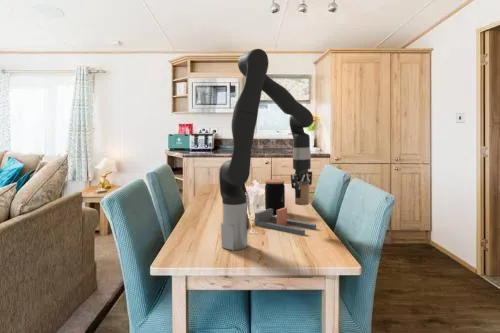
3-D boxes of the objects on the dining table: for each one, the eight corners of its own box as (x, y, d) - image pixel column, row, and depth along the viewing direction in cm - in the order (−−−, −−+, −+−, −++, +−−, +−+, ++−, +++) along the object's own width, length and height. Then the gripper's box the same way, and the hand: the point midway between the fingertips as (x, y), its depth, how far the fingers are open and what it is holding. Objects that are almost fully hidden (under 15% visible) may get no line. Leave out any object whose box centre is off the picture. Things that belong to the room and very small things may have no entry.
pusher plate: (287, 224, 152) (287, 207, 151) (278, 227, 146) (278, 210, 146) (279, 222, 154) (279, 206, 154) (271, 226, 149) (271, 209, 148)
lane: (316, 228, 145) (316, 215, 144) (302, 235, 136) (302, 221, 135) (269, 220, 161) (269, 208, 161) (255, 225, 152) (254, 213, 152)
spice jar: (304, 205, 135) (304, 182, 134) (292, 204, 139) (291, 181, 138) (312, 203, 139) (312, 180, 138) (299, 201, 143) (299, 179, 142)
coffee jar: (285, 215, 170) (285, 182, 168) (265, 215, 170) (265, 182, 168) (283, 210, 180) (283, 179, 179) (265, 211, 180) (264, 179, 179)
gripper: (303, 156, 145) (303, 193, 147) (284, 159, 134) (285, 198, 136) (317, 157, 140) (318, 194, 142) (300, 159, 129) (300, 200, 131)
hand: (302, 196), depth 139 cm, fingers closed on spice jar, 6 cm apart
